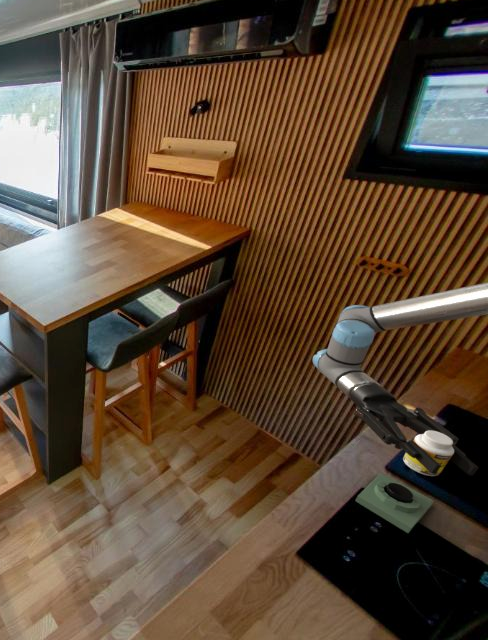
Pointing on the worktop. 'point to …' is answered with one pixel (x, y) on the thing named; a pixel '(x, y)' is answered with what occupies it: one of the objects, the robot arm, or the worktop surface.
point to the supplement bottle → (431, 451)
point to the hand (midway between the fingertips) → (454, 470)
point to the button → (399, 492)
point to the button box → (393, 503)
